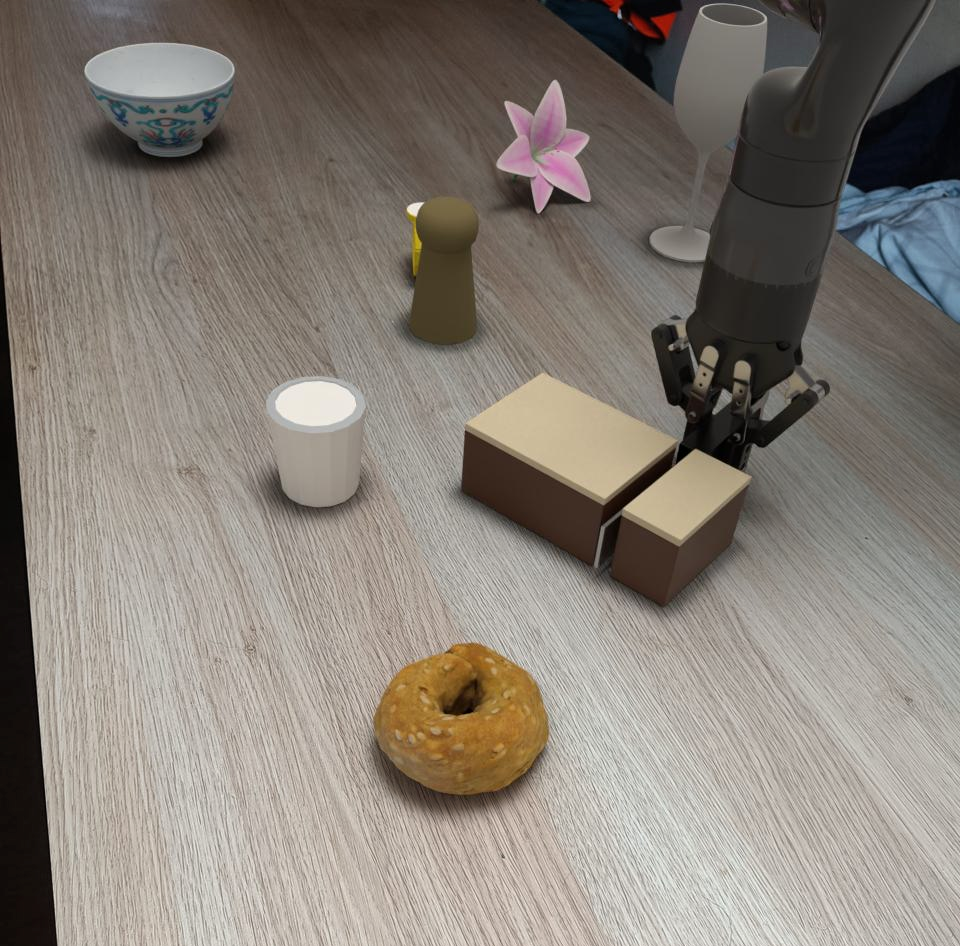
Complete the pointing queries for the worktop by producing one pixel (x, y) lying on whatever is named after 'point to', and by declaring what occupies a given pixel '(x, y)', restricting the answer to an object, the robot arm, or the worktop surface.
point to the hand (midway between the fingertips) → (710, 467)
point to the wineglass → (712, 102)
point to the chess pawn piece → (445, 272)
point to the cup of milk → (317, 438)
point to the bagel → (462, 720)
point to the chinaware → (162, 93)
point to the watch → (414, 234)
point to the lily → (546, 149)
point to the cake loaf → (561, 462)
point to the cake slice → (678, 526)
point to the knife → (703, 439)
